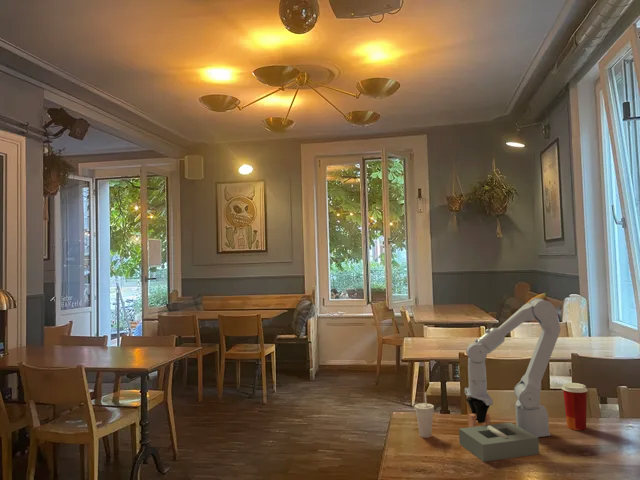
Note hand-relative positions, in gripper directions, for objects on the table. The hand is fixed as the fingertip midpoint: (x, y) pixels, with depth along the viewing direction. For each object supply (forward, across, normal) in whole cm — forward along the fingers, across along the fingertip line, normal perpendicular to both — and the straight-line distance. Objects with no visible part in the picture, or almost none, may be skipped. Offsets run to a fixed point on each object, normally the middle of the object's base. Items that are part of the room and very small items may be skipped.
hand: (479, 421), depth 167 cm
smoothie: (+4, -3, -18) cm, 19 cm away
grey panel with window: (+4, +14, -2) cm, 15 cm away
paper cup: (+4, +6, +32) cm, 33 cm away
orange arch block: (+4, 0, 0) cm, 4 cm away
